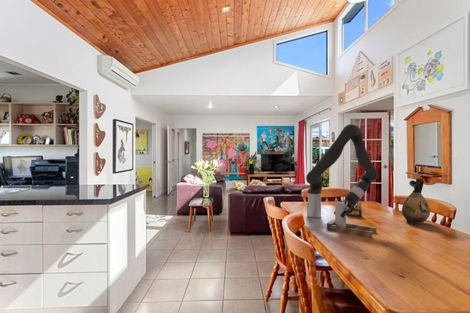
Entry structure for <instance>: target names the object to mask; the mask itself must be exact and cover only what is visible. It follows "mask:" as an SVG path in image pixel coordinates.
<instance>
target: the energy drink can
mask: <svg viewBox="0 0 470 313" xmlns="http://www.w3.org/2000/svg"><path fill="white" fill-rule="evenodd" d="M345 207H346V205H345V203H344V202H339V201H337V202H336V203H335V206H334V212H335V214H334V215H335V218H334V220H335V225H336V226H342V227H346V223H347V216H346V215H345V217H344V218H342V217H341V216H340V215H341V214H342V212H343V211H344V210H345Z"/></svg>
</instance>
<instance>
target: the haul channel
mask: <svg viewBox="0 0 470 313" xmlns="http://www.w3.org/2000/svg"><path fill="white" fill-rule="evenodd" d="M377 229H378V228H377V227H374V226H370V225H369V226H367V225H362V224H357V223H356V224H355V223H348V222H346V227H342V226H336V225H335V218H333V219H331V220H330V221H328V222H326V231H327V230H328V231H331V232H332V231H333V232H338V233H344V234H348V235H349V234H350V235H354V236H360V237H367V238H373V234H377Z"/></svg>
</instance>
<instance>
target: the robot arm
mask: <svg viewBox="0 0 470 313" xmlns="http://www.w3.org/2000/svg"><path fill="white" fill-rule="evenodd" d="M361 130H362V129H361V128H360V126H358V125H356V124H352V123H349V124H346V125H345V126H344V127H343V128H342V130H341V131H340V134H338V136H337V138H336V139H335V141H334V142H333V143H332V144H331V146H329V148H328V149H327V150H326V151H325V153H324V154H323V155H322V157H321V158H320V159H319V160H318V162H317V164H316V165H315V166H314V167H312V169H311V170H310V171H309V172H308V173H307V175H306V178H305V180H306V183H307V184H309V187H308V189H307V203H306V217H309V218H313V219H316V218H317V219H319V218H321V217H322V190H323V176H322V175H323V174H324V173H325V171H326V170H328V169H330V168H331V167H332V166H333V165H334V164H335V163H336V162H337V161H338V159H340V157H341V155H342V153H343V151H344V148H345V146H346V145H347V143H348V142H349V141H350V140H351V142H352V144H353V146H354V151H355V157H356V159H357V162H358V165H359V167H360V168H361V169H363V170H364V173H363V174H362V176H361V177H360V178H359V180H358V181H357V182H356V184H355V185H354V186H352V188H351V189H350V190H349V192H348V193H347V194H346V195H345V196H344V198H345V199H344V200H341V199H340V200H338V202H344V203H345V205H346V207H345V210H344V211H343V212H342V214H341V215H340V216H341V217H342V218H344V217H345V215H346V214H348V213H351V212H352V211H353V210H354V209H355V208H356V209H357V202H360V200H361V199H362V197H363V196H364V195H365V193H366V192H367V191H368V189H369V187H370V185H371V184H372V183H373V182H375V181H376V180H378V178H379V172H378V169H377V168H376V166H375V165H374V164H373V163H372V160H371V159H370V156H369V154H368V151H367V148H366V146H365V143H364V139H363V134H362V131H361ZM355 204H356V205H355ZM350 209H351V211H350ZM333 214H334V215H335V211H333Z"/></svg>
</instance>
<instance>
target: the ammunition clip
mask: <svg viewBox="0 0 470 313" xmlns="http://www.w3.org/2000/svg"><path fill="white" fill-rule="evenodd" d="M355 205H356V206H357V207H356V208H355V209H354V210H353V211H352V212H351V213H348V214H346V217H358V218H359V217H360V218H362V217H363V215H362V214H363V213H362V212H363V210H362V208H363V207H362V201H361V199H360V200H359V201H358V202H357V204H355ZM350 211H351V209H350Z"/></svg>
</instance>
